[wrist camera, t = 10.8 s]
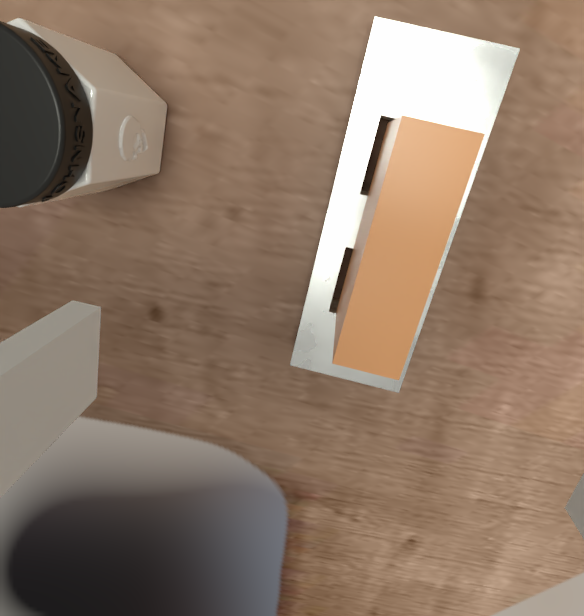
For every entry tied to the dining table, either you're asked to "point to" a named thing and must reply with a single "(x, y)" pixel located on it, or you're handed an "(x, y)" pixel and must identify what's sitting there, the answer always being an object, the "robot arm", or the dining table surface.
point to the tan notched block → (401, 241)
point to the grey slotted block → (359, 141)
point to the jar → (71, 118)
